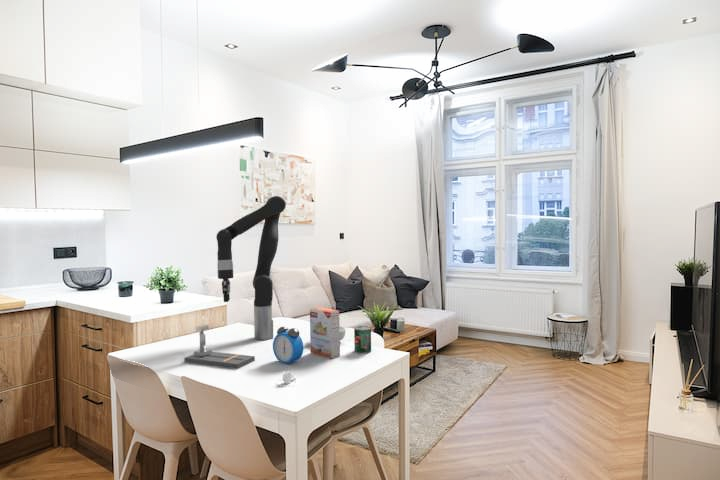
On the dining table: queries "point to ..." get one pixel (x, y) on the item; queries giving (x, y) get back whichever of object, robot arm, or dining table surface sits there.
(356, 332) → the canned tomato
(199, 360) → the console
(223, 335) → the dining table surface
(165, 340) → the dining table surface
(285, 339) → the alarm clock
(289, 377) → the teacup and saucer
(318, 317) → the cracker box
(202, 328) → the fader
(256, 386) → the dining table surface
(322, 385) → the dining table surface
